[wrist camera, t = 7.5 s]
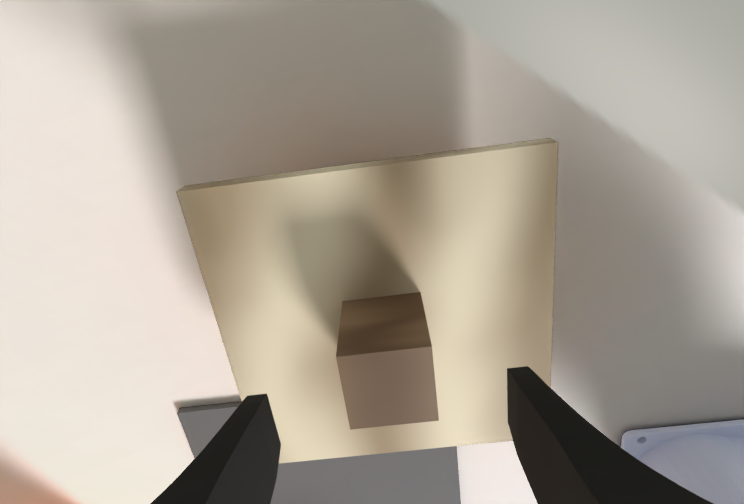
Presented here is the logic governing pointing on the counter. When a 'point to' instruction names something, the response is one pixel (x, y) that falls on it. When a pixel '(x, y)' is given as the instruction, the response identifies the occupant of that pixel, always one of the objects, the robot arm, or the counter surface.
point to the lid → (384, 294)
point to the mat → (345, 470)
